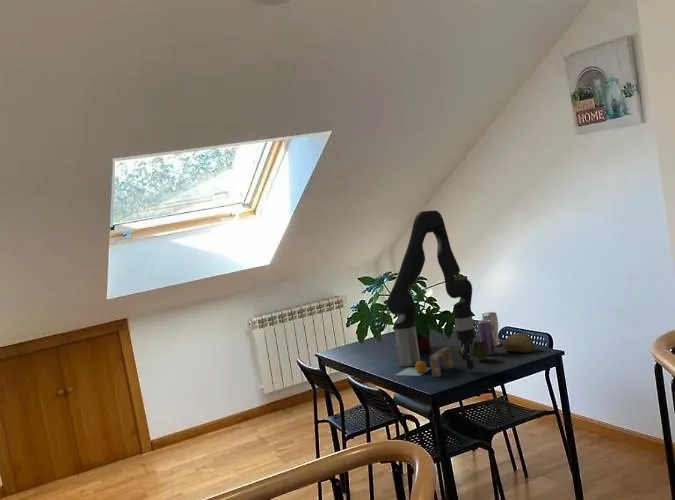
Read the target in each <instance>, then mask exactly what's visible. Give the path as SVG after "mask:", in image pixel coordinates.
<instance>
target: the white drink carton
mask: <svg viewBox="0 0 675 500" xmlns="http://www.w3.org/2000/svg"><path fill="white" fill-rule="evenodd" d="M481 317H482V320H490V322H491V325H492V332H493V339H494V346H495V347H498V346H500V345H501V341H500V339H499V319H498V315H497V312H496V311H495V312H494V311H492V312H491V311H490V312H484V313H482V316H481Z"/></svg>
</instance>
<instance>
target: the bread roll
mask: <svg viewBox="0 0 675 500" xmlns="http://www.w3.org/2000/svg"><path fill="white" fill-rule="evenodd" d="M502 349H503V350H504V351H506V352H517V353H524V354H528V353H529V352H531V353H532V351H533V352H534V351H535V343H534V342H533V340H532V337H530V336H529V335H528V334H526V333H522V332H521V333H513V334H510V335H509V336H507V337H506V338H505V339H504V341H503V343H502ZM529 354H530V353H529Z"/></svg>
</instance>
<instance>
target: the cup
mask: <svg viewBox="0 0 675 500" xmlns="http://www.w3.org/2000/svg"><path fill="white" fill-rule="evenodd" d="M473 343H476V351H475V357H474V358H476V360H477V362H484V361H485V360H486V356H488V355H487V353H488V342H485V341H481V343H480V340H478V341H476V340H475V341H473Z"/></svg>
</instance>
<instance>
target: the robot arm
mask: <svg viewBox="0 0 675 500" xmlns="http://www.w3.org/2000/svg"><path fill="white" fill-rule="evenodd" d="M410 232H411V233H410V237H409V241H408V244H407V248H406V250H405V253H404V256H403V259H402V262H401V265H400V267H399V271H398V273H397V276H396V277H397V278H396V280H395V282H394V285H393V287H392V289H391V290H390V293H389V294H388V298H387V304H386V305H387V310H388V311H389V312H390V313H391V314H393V315H398V314H399V315H398V316H397V319H396V320H394V323H393V325H394V326H393V327H394V331H395V339H396V340H395V341H396V344H395V350H396V357H397V364H398V366H399V367H405V368H408V367H415V364H416V363H417V362H418V361H421V357H420V350H419V343H418V335H417V330H416V325H415V324H416V310H415V309H416V308H415V307H416V306H415V301H414V298H413V295H412V293H410V291H409V289H410V288H411V287H412V285H413V284H414V283H415V282H416V281H417V279H418V278H419V276H420V275H421V273H422V271H423V267H424V265H425V262H426V255H425V250H424V241H425V239H426V236H427V234H429V233H432V234H433V235H434V237H435V239H436V243H437V253H436V257H437V263H438V266H439V267H440V270H441V272H442V273H443V277H444V284H445V285H444V286H445V291H446V293H447V295H448V296H449V297H450V298H451V299H458V298H459V300H458V302H456V303H455V304H454V305H453V306H452V307H453V314H454V325H455V332H456V340H458V341H460V347H461V349H459V351H458V352H459V354H460V357H461V359H462V360H464V361H466V366H467V369H468V370H473V369H474V367H475V366H474V358H476V357H475V351H476V343H473V342H474V339H475V338H476V331H475V330H476V329H475V323H474V318H473V313H472V309H471V306H472V297H473V285H472V282H471V281H470V280H469V279H467V278H461V279H455V276H457V275H459V274H460V273H461V272H460V271H461V270H460V269H461V268H460V266H459V264H458V261H457V260H456V257H455V255H454V252H453V250H452V246H451V244H450V239H449V236H448V232H447V229H446V225H445V222H444V219H443V216H442V215H441V213H440V212H439V211H438V210H434V209H433V210H423V211H419V212H418V213H417V214H416V215H415V217H414V219H413V224H412V229H411V231H410Z"/></svg>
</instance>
